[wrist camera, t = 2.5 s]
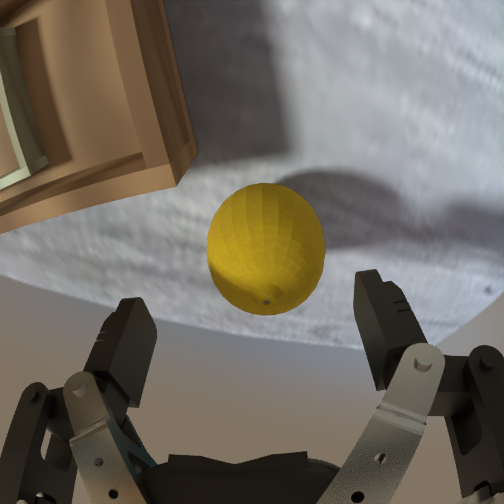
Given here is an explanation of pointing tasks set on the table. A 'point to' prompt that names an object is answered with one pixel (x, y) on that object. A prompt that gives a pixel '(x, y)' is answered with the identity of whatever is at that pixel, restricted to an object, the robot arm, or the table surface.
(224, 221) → the lemon
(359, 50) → the table surface
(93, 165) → the caddy
